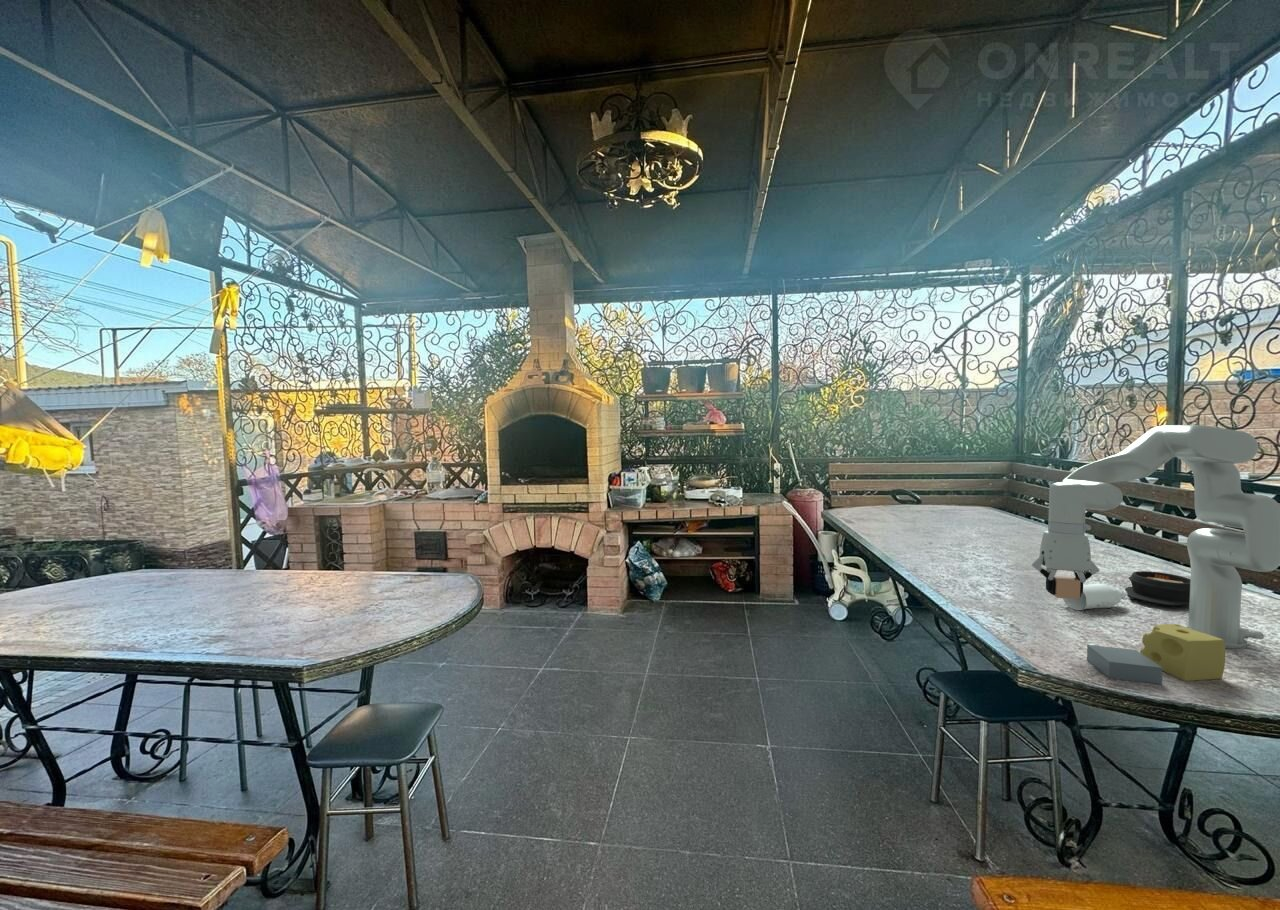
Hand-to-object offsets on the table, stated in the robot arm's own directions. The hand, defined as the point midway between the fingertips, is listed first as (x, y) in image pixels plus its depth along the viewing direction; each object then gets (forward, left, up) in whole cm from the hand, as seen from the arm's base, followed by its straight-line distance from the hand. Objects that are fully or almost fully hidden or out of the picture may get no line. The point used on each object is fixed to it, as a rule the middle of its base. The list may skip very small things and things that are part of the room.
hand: (1063, 593), depth 135 cm
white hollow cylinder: (-25, -42, -16) cm, 51 cm away
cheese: (-22, +6, -16) cm, 28 cm away
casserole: (-51, -57, -16) cm, 78 cm away
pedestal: (-8, +11, -15) cm, 20 cm away
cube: (0, 0, -1) cm, 1 cm away
